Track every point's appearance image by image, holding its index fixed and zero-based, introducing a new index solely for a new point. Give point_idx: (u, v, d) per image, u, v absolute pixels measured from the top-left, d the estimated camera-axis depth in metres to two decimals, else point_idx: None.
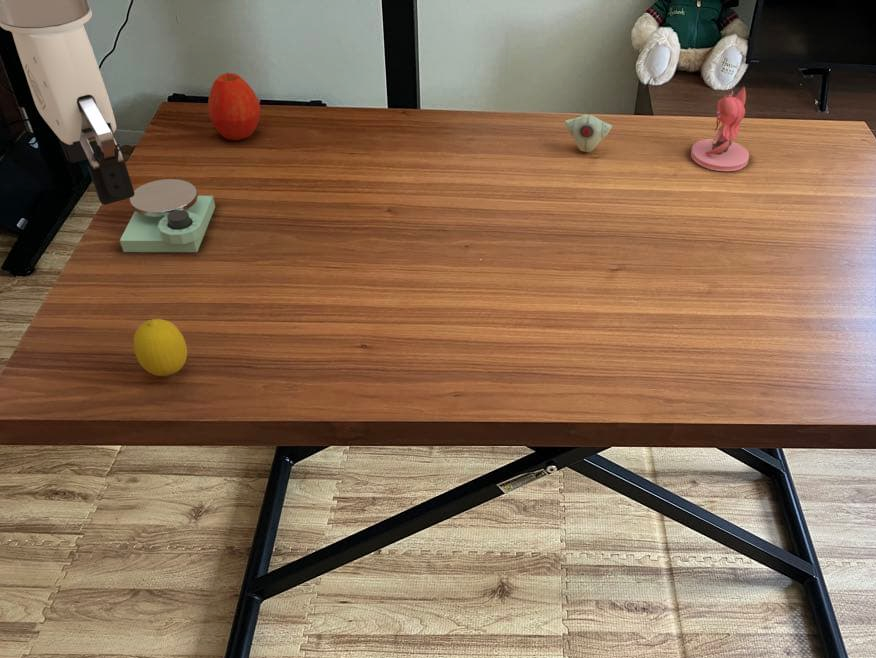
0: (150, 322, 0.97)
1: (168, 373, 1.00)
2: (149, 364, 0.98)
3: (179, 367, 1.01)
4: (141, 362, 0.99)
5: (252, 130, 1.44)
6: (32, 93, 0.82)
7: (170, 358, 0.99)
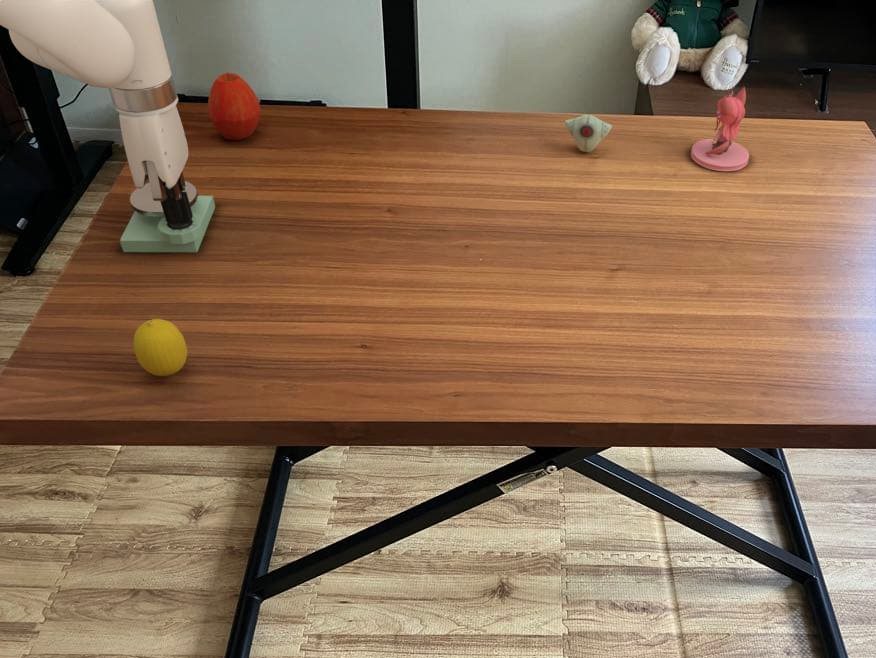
0: (150, 322, 0.97)
1: (168, 373, 1.00)
2: (149, 364, 0.98)
3: (179, 367, 1.01)
4: (141, 362, 0.99)
5: (252, 130, 1.44)
6: None
7: (170, 358, 0.99)
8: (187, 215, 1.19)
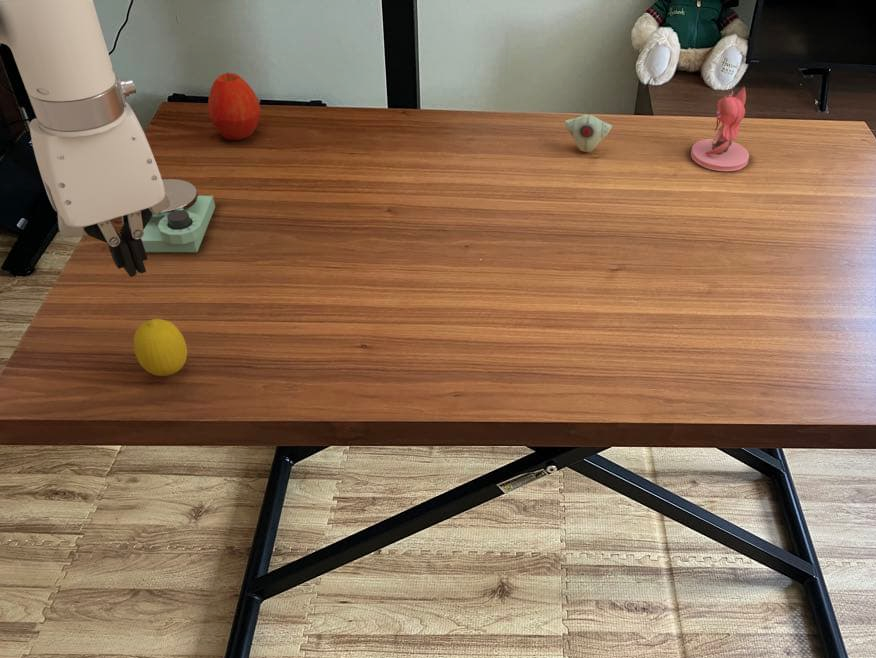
0: (150, 322, 0.97)
1: (168, 373, 1.00)
2: (149, 364, 0.98)
3: (179, 367, 1.01)
4: (141, 362, 0.99)
5: (252, 130, 1.44)
6: None
7: (170, 358, 0.99)
8: (127, 267, 0.91)
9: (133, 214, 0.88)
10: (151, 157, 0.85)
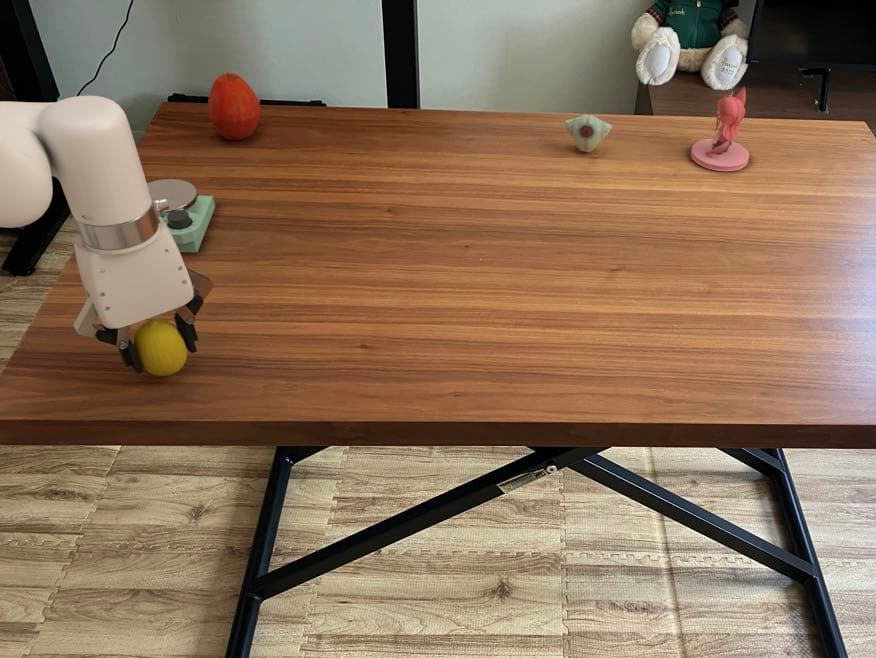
0: (150, 322, 0.97)
1: (168, 373, 1.00)
2: (149, 364, 0.98)
3: (179, 367, 1.01)
4: (141, 362, 0.99)
5: (252, 130, 1.44)
6: None
7: (170, 358, 0.99)
8: (135, 366, 0.98)
9: (178, 308, 0.97)
10: (182, 264, 0.94)
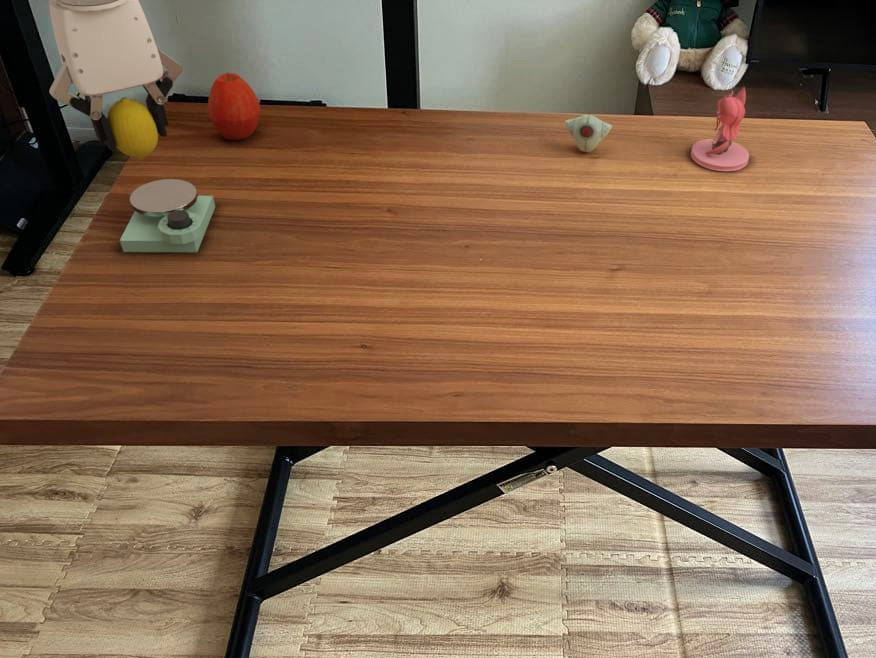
0: (122, 99, 1.04)
1: (139, 152, 1.07)
2: (121, 140, 1.05)
3: (150, 148, 1.08)
4: (114, 139, 1.06)
5: (252, 130, 1.44)
6: None
7: (141, 135, 1.06)
8: (108, 141, 1.05)
9: (148, 85, 1.04)
10: (151, 37, 1.01)
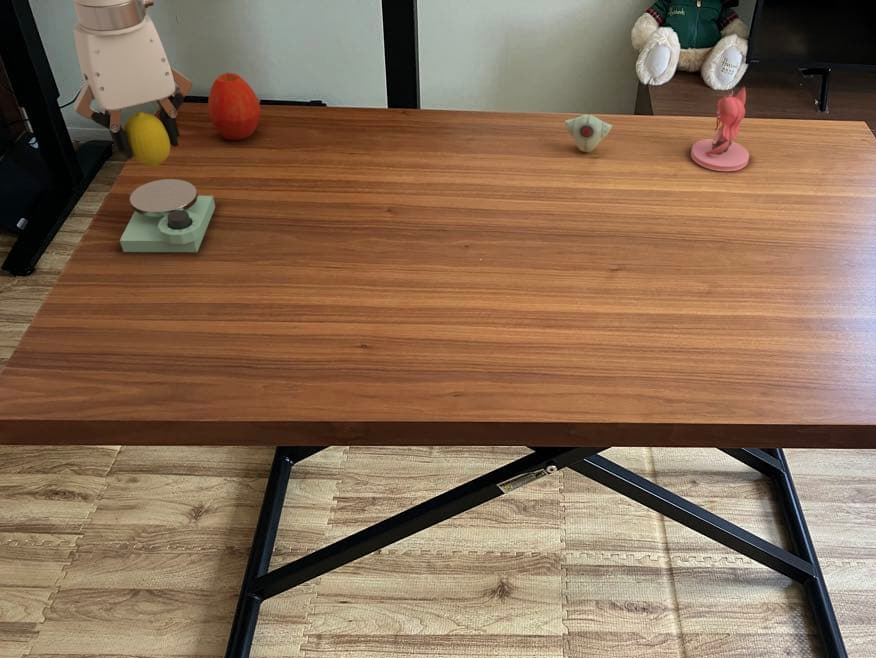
0: (138, 112, 1.15)
1: (154, 161, 1.18)
2: (137, 150, 1.16)
3: (163, 157, 1.18)
4: (131, 149, 1.16)
5: (252, 130, 1.44)
6: None
7: (156, 145, 1.16)
8: (125, 151, 1.15)
9: (162, 100, 1.15)
10: (164, 57, 1.11)
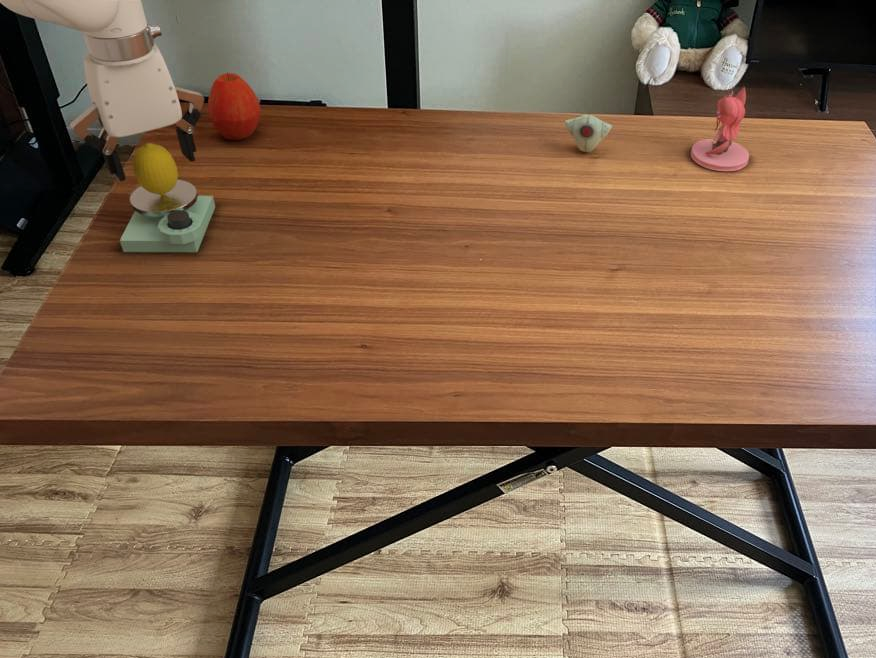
0: (147, 144, 1.18)
1: (162, 190, 1.21)
2: (146, 180, 1.19)
3: (171, 186, 1.21)
4: (139, 179, 1.19)
5: (252, 130, 1.44)
6: None
7: (164, 176, 1.19)
8: (118, 173, 1.17)
9: None
10: (172, 85, 1.14)
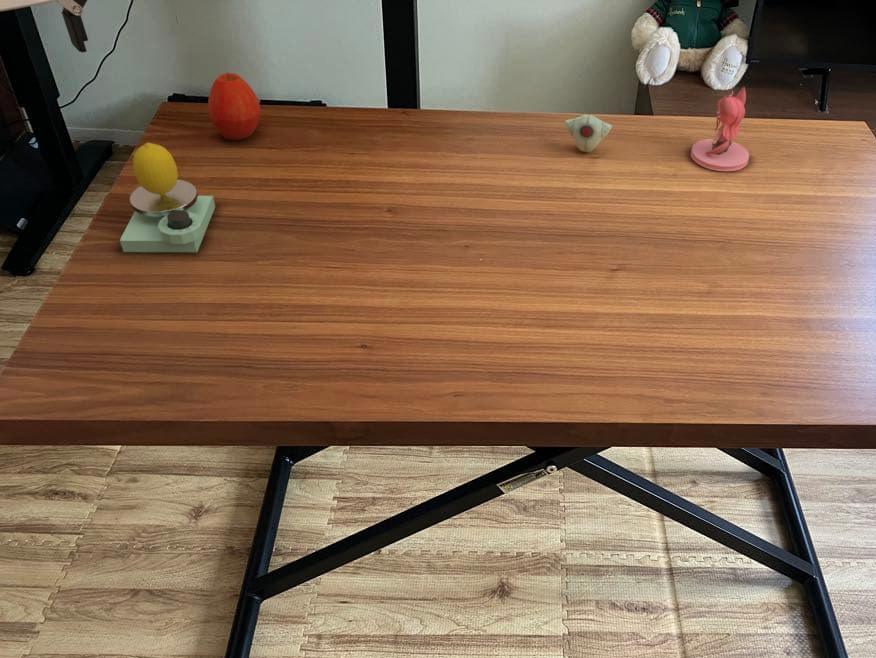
0: (147, 144, 1.18)
1: (162, 190, 1.21)
2: (146, 180, 1.19)
3: (171, 186, 1.21)
4: (139, 179, 1.19)
5: (252, 130, 1.44)
6: None
7: (164, 176, 1.19)
8: None
9: None
10: None
